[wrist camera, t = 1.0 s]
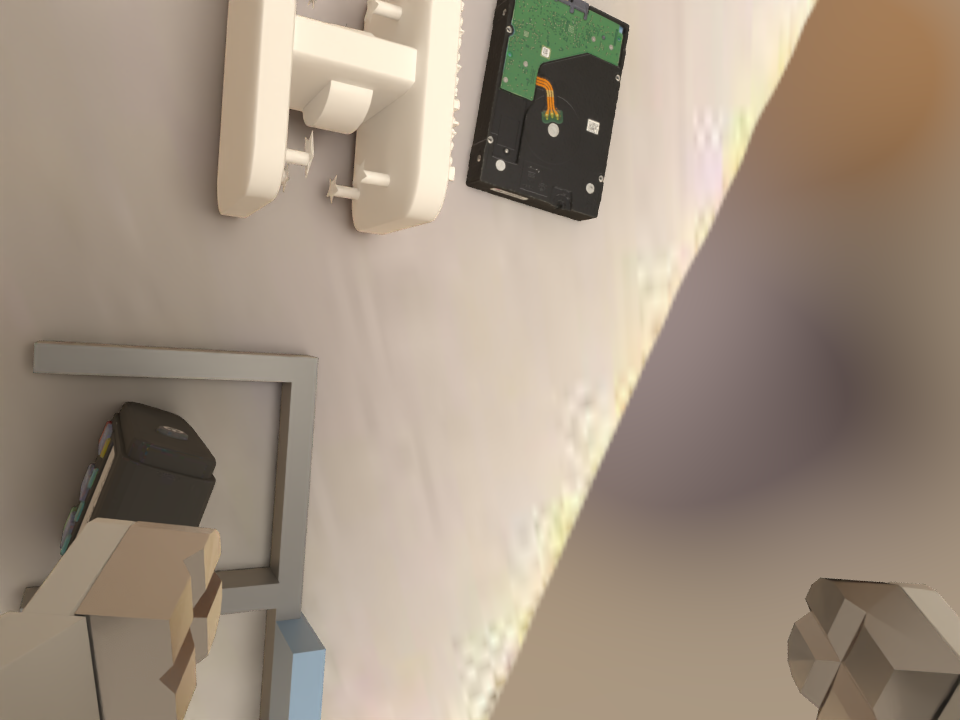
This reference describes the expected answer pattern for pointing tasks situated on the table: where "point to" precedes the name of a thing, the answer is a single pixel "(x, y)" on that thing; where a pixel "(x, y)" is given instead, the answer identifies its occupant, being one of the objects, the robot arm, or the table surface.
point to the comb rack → (277, 588)
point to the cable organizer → (343, 105)
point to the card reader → (145, 473)
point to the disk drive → (548, 105)
